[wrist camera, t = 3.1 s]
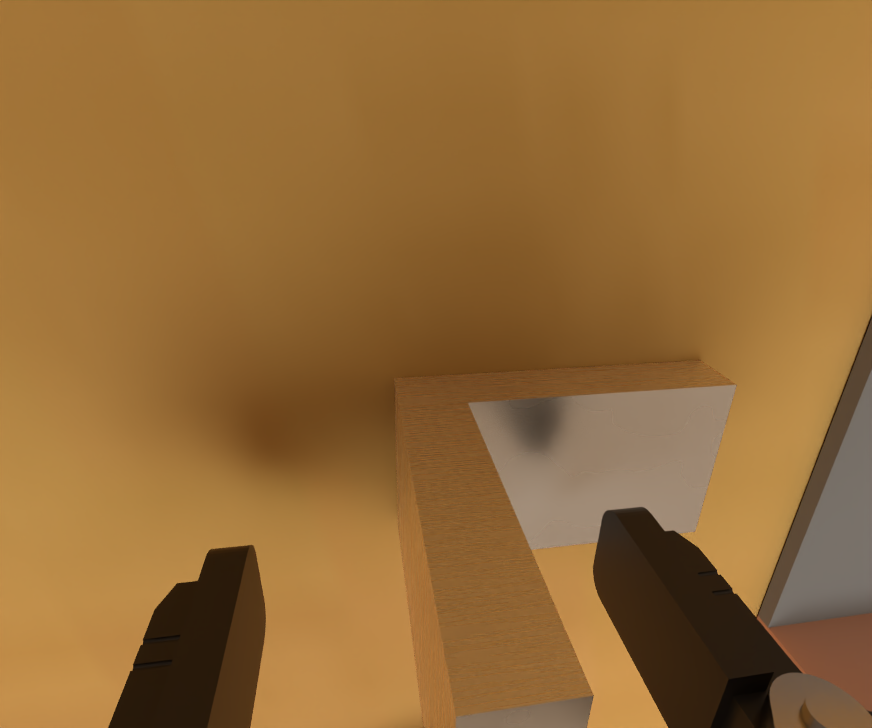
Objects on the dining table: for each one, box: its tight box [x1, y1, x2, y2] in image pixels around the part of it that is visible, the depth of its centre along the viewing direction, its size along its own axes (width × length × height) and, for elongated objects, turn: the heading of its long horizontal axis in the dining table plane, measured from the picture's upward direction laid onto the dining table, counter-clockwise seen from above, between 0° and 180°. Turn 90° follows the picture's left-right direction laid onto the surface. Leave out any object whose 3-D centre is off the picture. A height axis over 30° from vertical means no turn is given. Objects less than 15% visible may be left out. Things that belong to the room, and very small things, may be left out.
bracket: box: [394, 360, 737, 728], centre depth 10 cm, size 8×4×8 cm, turn 89°
